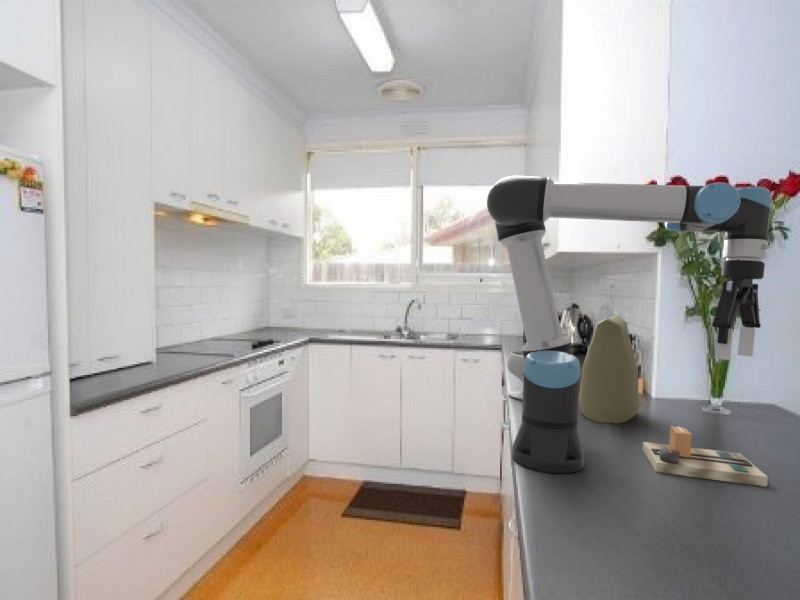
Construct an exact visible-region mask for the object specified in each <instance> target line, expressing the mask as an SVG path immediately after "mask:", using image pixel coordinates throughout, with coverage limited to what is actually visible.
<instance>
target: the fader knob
mask: <svg viewBox="0 0 800 600" xmlns="http://www.w3.org/2000/svg"><path fill="white" fill-rule="evenodd" d="M692 437H693V434H692V433H691V432H690V431H689V430H688V429H687V428H686V427H681V426H671V425H670V428H669V444H668V445H669V449H673V450H676V451H678V452H679V453H680V454H679V456H683V457H690V456H691V448H692V441H693V440H692V439H693V438H692Z"/></svg>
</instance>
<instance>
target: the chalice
mask: <svg viewBox="0 0 800 600" xmlns="http://www.w3.org/2000/svg"><path fill="white" fill-rule="evenodd" d="M524 364H525V361H524V356H523V352H522V350H521V351H519V350H518V351H517V350H516V351H512V352H511V353H510V354H509V356H508V359H507V364H506V365H507V367H506V368H507V369H508V371H509V372H510V373H511V374H512V375H513V376H514V377H516V378H517V379H519V380H520V381H521V382H522V383H523V384H524V372H523V366H524ZM508 396H509V397H511V398H513V399H516V400H521V401H523V390H522V391H511V392H510V393H508Z"/></svg>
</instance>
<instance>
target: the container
mask: <svg viewBox="0 0 800 600" xmlns="http://www.w3.org/2000/svg"><path fill="white" fill-rule="evenodd" d="M583 361H584V362H583V364H582V367H581V379H580V381H581V382H580V386H579V400H578V403H579V406H580V407H579V408H580V409H581V410H580V411H581V414H582V415H583V416H584V417H585V418H586V419H587V418H588V420H590V419H591V421H593V420H594V421H593V422H596V423H599V422H600V424H611V423H614V424H615V425H616V424H617V425H618V424H619V423H620V424H623V423H626V422H628V421H630V420H632V418H635V415H636V414H637V413H638V411H639V369H638V364H637V362H636V357H635V352H634V349H633V344H632V339H631V337H630V333H629V328H628V322H627V321H625V320H624V319H623V318H622V317H621V316H619V315H618V314H616V315H614V316H611V317H607V318H604V319H603V320H601V321H599V322H597V323H596V325H595V329H594V333H593V336H592V338H591V341H590V343H589V346H588V349H587V352H586V355H585V357H584V360H583Z"/></svg>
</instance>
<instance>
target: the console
mask: <svg viewBox="0 0 800 600" xmlns="http://www.w3.org/2000/svg"><path fill="white" fill-rule="evenodd" d="M642 451H643V453H644V455H645V456H646V458H647V460H648V461H649V463H650V465H651V466H652V468H653V470H654V472H655V473H661V474H669V475H678V476H684V477H691V478H698V479H700V478H701V479H707V480H714V481H721V482H730V483H737V484H744V485H752V486H758V487H759V486H760V487H766V488H767V487H768V478H769V476H768V475H766V474H765V473H764V472H763V471H761V470H760V469H759V468H758V467H757V466H755V464H754V463H752V462H751V461H750V460H748V459H747V458H746V457H745V456H744V455H743V454H742V453H741V452H733V451H723V450H716V449H714V450H713V449H706V448H698V447H691V456H690V457H683V456H679V454H680V453H679V452H678V451H676V450H673V449H669V444H663V443H655V442H647V441H643V442H642Z"/></svg>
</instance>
